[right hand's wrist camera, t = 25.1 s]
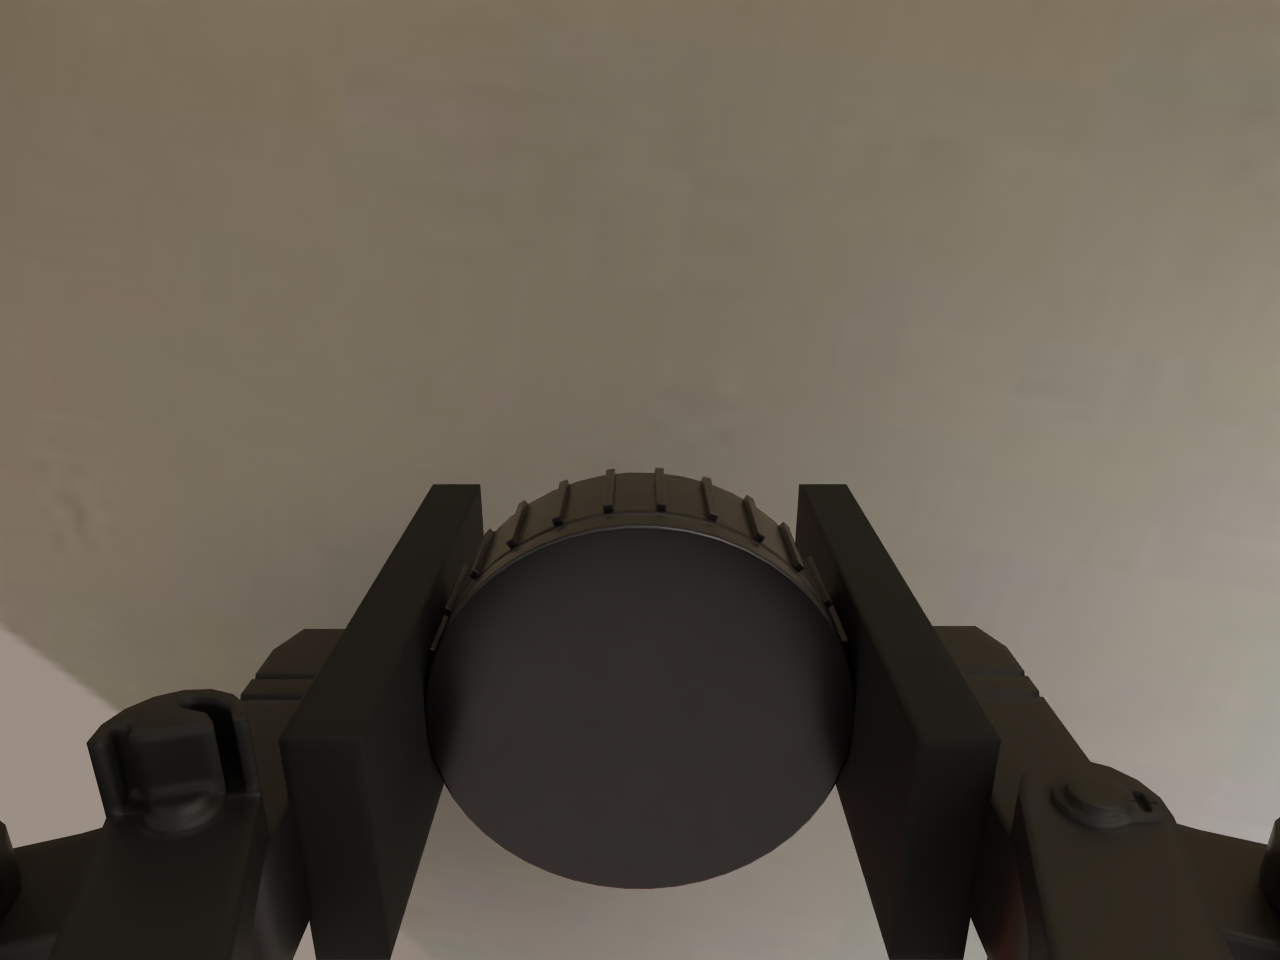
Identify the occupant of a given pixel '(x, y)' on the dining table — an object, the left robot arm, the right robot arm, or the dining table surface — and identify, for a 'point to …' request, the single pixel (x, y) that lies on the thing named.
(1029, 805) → the right robot arm
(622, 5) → the dining table surface
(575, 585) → the lid
